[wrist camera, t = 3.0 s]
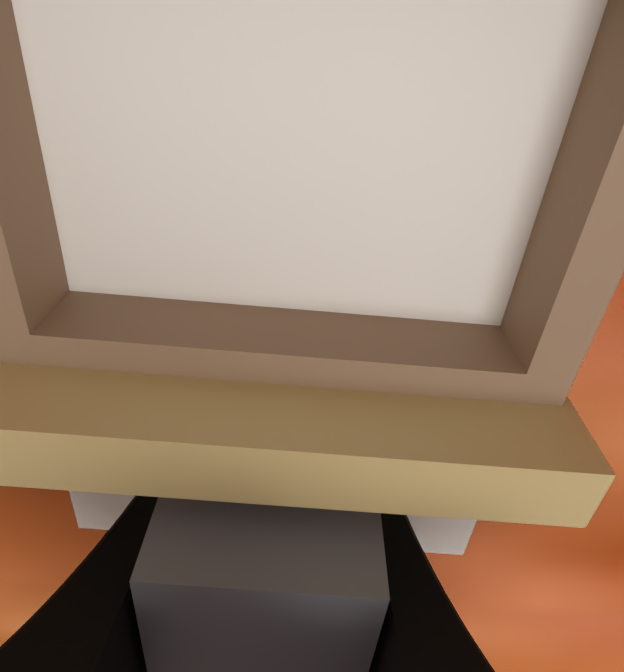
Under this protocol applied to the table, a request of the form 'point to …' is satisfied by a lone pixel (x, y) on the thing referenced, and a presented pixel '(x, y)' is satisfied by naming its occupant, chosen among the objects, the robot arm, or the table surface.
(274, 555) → the gray block
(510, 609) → the table surface
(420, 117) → the door board
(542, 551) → the table surface
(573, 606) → the table surface
